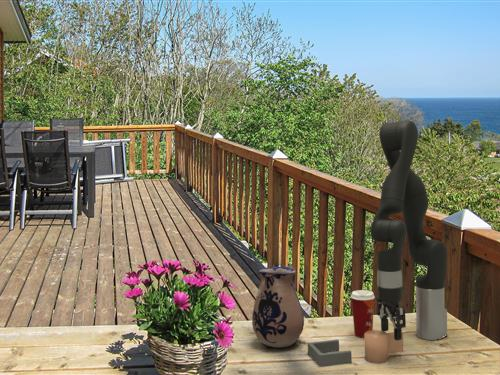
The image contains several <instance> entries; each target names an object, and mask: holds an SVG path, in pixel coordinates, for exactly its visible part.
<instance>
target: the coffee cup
mask: <svg viewBox="0 0 500 375" xmlns="http://www.w3.org/2000/svg"><path fill="white" fill-rule="evenodd" d="M350 298H351V306H352V317H353V318H352V319H353V329H354V330H353V331H354V336H355V338H359V339H365V332H367V331H373V330H374V329H373V328H374V326H373V325H374V306H375V304H374V303H375V294H374V292H373V291H372V290H366V289H365V290H364V289H359V290H353V291H352V292H351V295H350Z"/></svg>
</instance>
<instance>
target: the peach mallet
mask: <svg viewBox="0 0 500 375" xmlns="http://www.w3.org/2000/svg"><path fill="white" fill-rule="evenodd" d="M403 352H404V332H403V331H402V339H401V340H395V339H394V331H393V332H392V331H391V332H387V331H384V332H383V331H382V330H377V329H375V330H374V329H373V331H367V332H365V338H364V360H365V362H367V363H370V364H375V365H379V364H386V363H387V362H388V361H389V355H390V354H396V353H403Z"/></svg>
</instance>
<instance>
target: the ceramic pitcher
mask: <svg viewBox="0 0 500 375" xmlns="http://www.w3.org/2000/svg"><path fill="white" fill-rule="evenodd" d="M257 273H258V274H259V277H260V278H259V279H260V282H259V286H258V290H257V293H256V296H255V297H256V298H255V300H254V304H253V310H252V316H251V323H252V324H251V325H252V329H253V332H254V335H255V336H256V338H257V339H258V340H259V341H260V342H261V343H262V344H264V345H266V346H267V347H270V348H277V349H278V348H281V349H282V348H288V347H291V346H292V345H293V344H294V343H296V342H297V341H298V340H299V338H300V336H301V335H302V333H303V330H304V327H305V317H304V312H303V308H302V304H301V302H300V299H299V297H298V293H297V291H296V290H297V274H296V273H297V271H296V269H295V268H294V266H292V265H285V266H270V267H265V268H261V269H259V270H258V271H257Z"/></svg>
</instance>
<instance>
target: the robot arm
mask: <svg viewBox="0 0 500 375" xmlns="http://www.w3.org/2000/svg"><path fill="white" fill-rule="evenodd" d="M378 132H379V141H380V145H381V148H382V151H383V154H384V156H385V159H386V161H387V164H388V167H389V170H390V172H388V174H387V175H386V177H385V179H384V182H383V183H382V186H381V192H380V193H381V194H380V201H379V207H378V208H377V211H376V213H375V216H374V218H373V220H372V222H371V226H370V231H369V232H370V236H371V239H372V240H373V241H375V242H377V243H391V244H392V246H391V248H384V249H381V250H379V251H377V252H378V253H377V274H376V275H377V276H376V282H377V284H376V285H377V297H376V315H377V316H379V320H380V331H383V332H388V331H389V328H390V327H389V320H390V322H391V324H392V325H393V332H394V339H395V340H401V339H402V332H403V331H402V330H403V328H406V327H407V324H406V322H407V321H406V308H405V307H401V306H400V301H402V300H403V298H404V291H403V288H404V287H403V286H404V285H403V273H402V253H403V247H404V243H405V240H406V237H407V243H408V248H409V249H408V250H409V254H410V257H411V259H412V261H413V262H414V263H415V264H417V265H419V266H422V267H423V266H424V267H426V274H422V275H418V276H417V277H416V278H415V311H416V312H415V314H416V315H415V317H416V318H415V319H416V322H415V324H416V326H415V328H416V334H415V336H416V337H418V338H420V339H422V340H428V341H438V340H437V339H439V340H441V339H440V338H442V337H443V336H445V335H447V336H448V309H447V308H446V307H445V282H446V279H447V270H448V268H447V267H448V249H447V246H446V244H445V243H444V242H443V241H441V240H437V239H431V238H427V236H426V232H425V230H424V229H425V228H424V220H425V217H426V215H427V211H428V209H429V199H428V194H427V191H426V187H425V183H424V182H423V180H422V179H421V177H420V176H419V175H418V174H417V173H416V172H415V171H414V170H413V169H412V168H411V166H412V163H413V159H414V156H415V154H416V150H417V146H418V141H419V132H418V127H417V125H416V123H415V122H414V121H413V120H398V121H392V122H386V123H384V124H382V125H380V128H379V131H378ZM400 213H402V217H403V220H401V219H390V218H389V217H390V216H392V215H398V214H400ZM388 318H389V319H388Z"/></svg>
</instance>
